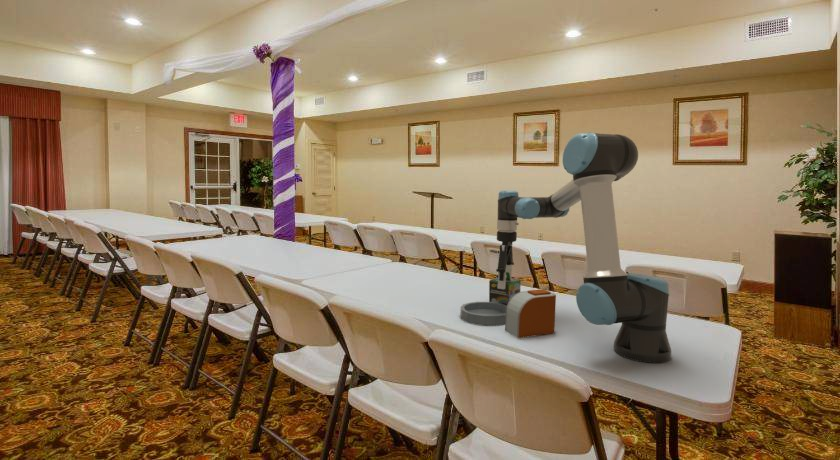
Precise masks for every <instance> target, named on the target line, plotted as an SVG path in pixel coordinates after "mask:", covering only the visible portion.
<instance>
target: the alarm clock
mask: <svg viewBox="0 0 840 460" xmlns="http://www.w3.org/2000/svg"><path fill="white" fill-rule="evenodd" d="M556 299H557V295H556V294H555V293H554V292H551V291H549V290H546V289H542V288H541V289H532V290H525V291H524V290H523V291H520V292H519V293H517V294H515V295H514V296H513V297H512V298H511V299H510V300H509V302H508V304H507V307H506V320H505V324H504V325H505V326H504V327H505V329H504V331H505V330H506V332H507V333H508V334H511V335H513V336H514V337H516V338H517V337H518V338H517V339H521V337H522V338H528V337H527V336H529V337H535V336H534V335H537V336H542V334H544V335H550V334H554V333H555V326H556V325H555V323H556V303H557V300H556Z"/></svg>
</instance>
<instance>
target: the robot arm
mask: <svg viewBox="0 0 840 460" xmlns="http://www.w3.org/2000/svg"><path fill="white" fill-rule="evenodd" d="M638 159H639V150H638V146H637V144H636V143H635V142H634V140H632V139H631V137H628V136H626V135H623V134H616V133H614V134H610V133H609V134H608V133H596V132H587V133H586V132H580V133H577V134H574V136H572V137H571V138H570V139H569V140H568V142H567V144H566V145H565V146H564V150H563V154H562V166H563V169H564V170H565V171H566V172H567V173H568V174H569V175H571V176H572V179H571V180H570V181H568V182H567V183H565V185H563V186H561V188H559V189H558V190H557V191H555V192H554V193H551V195H549V196H544V197H543V196H541V197H539V196H538V197H537V196H535V197H534V196H533V197H532V196H531V197H530V196H529V197H524V196H523V197H522V196H519V192H518V191H517V190H500V191H498V199H497V220H496V229H497V231H496V241H498V242H501V245H500V246H499V254H498V263H497V268H496V269H495V270H496V271H495V272H496V273H497V272H498V275H497V278H498V289H505V284H506V277H507V275H506V272H509V274H510V278H512V271H513V270H512V269H513V267H512V266H514V265H515V263H514V259H513V258H514V257H513V256H514V255H513V243H514V242H516V241H517V237H518V235H517V234H518V233H517V231H518V226H519V224H520V223H519V222H518V218H519V219H523V220H532V219H534V218H535V219H539V218H541V219H542V218H543V219H545V218H548V219H549V218H554V219H557V218H561V217H562V218H563V217H565V216H567V215H568V213H569V212H570V208H571V207H572V206H574V205H576V204H577V203H579V202H580V205H581V212H582V213H581V214H582V223H583V233H584V241H585V242H584V244H585V252H586V253H585V254H586V262H587V271H586V273H585V274H584V275H583V276H582V277H583V278H582V279H583V283H582V284H581V285H579V287H578V289H577V291H576V295H575V298H576V299H575V300H576V305H577V308H578V311H579V312H580V314H581V315H582V317H584V319H585V320H586V321H587V322H589V323H591V324H593V325H595V326H602V325H603V326H604V325H606V326H611V325H614V324H615V325H616V324H621V325H620V327H619V330H618V332H617V335H616V336H615V338H614V342H613V351H614V352H615V353H616V354H617V355H619V356H621V357H623V358H626V359H629V360H631V361H632V360H633V361H638V362H641V363H651V364H656V363H659V364H660V363H666V362H669V361H670V360H671V359H672V347H671V344H670V342H669V338H668V335H667V317H668V309H669V308H668V307H669V297H670V293H669V291H670V289H669V282H668V281H667V280H666V279H664V278H660V277H656V276H652V275H647V274H642V273H641V274H640V273H635V272H634V273H633V272H628V273H626V271H624V270H623V268H621V259H620V258H621V257H620V249H619V242H618V241H619V240H618V232H617V222H616V212H615V203H614V194H613V186H612V184H613V182H617V181H619V180H621V179H623V178H624V177H625V176H627V175H628V174H630V172H632V171H633V170H634V168H635V166H636V165H637V162H638Z"/></svg>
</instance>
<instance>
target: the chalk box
mask: <svg viewBox="0 0 840 460" xmlns="http://www.w3.org/2000/svg"><path fill="white" fill-rule="evenodd" d="M506 275H507V277H506V284H505V289H498V277H496V278H492V279H489V284H488V285H489V287H488V288H489V289H488V294H489V297H488V302H494V303H500V304H504V305H507V304H508V302H509V300H510V299H511V298H512V297H513V296H514V295H515V294H517V293H519V292H521V279H520V278H514V277H511V278H510V274H509V272H506Z"/></svg>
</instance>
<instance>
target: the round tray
mask: <svg viewBox="0 0 840 460" xmlns="http://www.w3.org/2000/svg"><path fill="white" fill-rule="evenodd" d="M506 307H507V305H504V304H500V303H494V302H489V301H472V302H466V303H463V304H462V305H461V306H460V312H459V314H460V319H461V320H462V321H464V322H466V323H469V324H474V325H478V326H487V327H488V326H489V327H490V326H492V327H493V326H494V325H495V326H496V325H497V326H502V325H505V320H506Z"/></svg>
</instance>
